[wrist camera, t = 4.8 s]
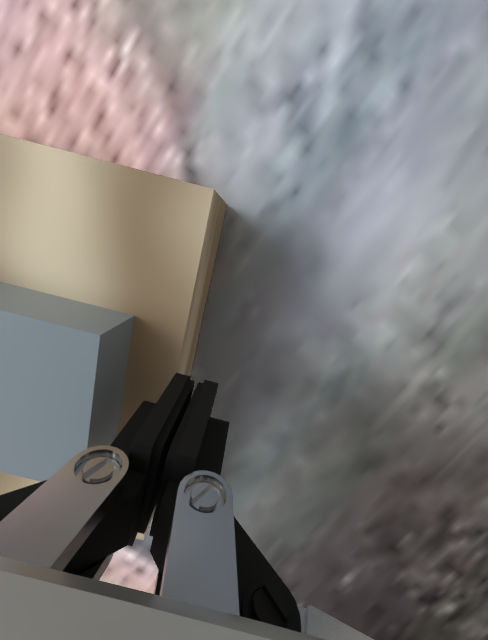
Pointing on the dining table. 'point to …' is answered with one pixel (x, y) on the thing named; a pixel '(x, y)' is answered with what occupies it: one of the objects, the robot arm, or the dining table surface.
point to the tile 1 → (57, 379)
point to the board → (112, 254)
